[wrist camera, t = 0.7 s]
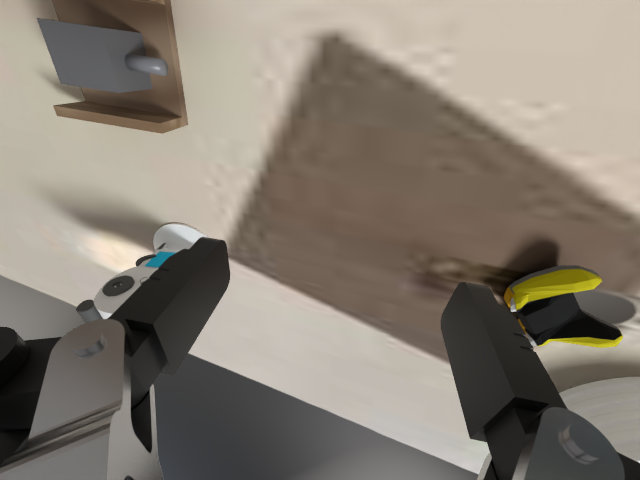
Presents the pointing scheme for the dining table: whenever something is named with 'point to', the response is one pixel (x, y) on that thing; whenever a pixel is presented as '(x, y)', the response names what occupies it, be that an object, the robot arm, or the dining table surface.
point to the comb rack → (159, 42)
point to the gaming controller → (559, 308)
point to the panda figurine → (139, 271)
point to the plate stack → (610, 411)
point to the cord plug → (100, 57)
